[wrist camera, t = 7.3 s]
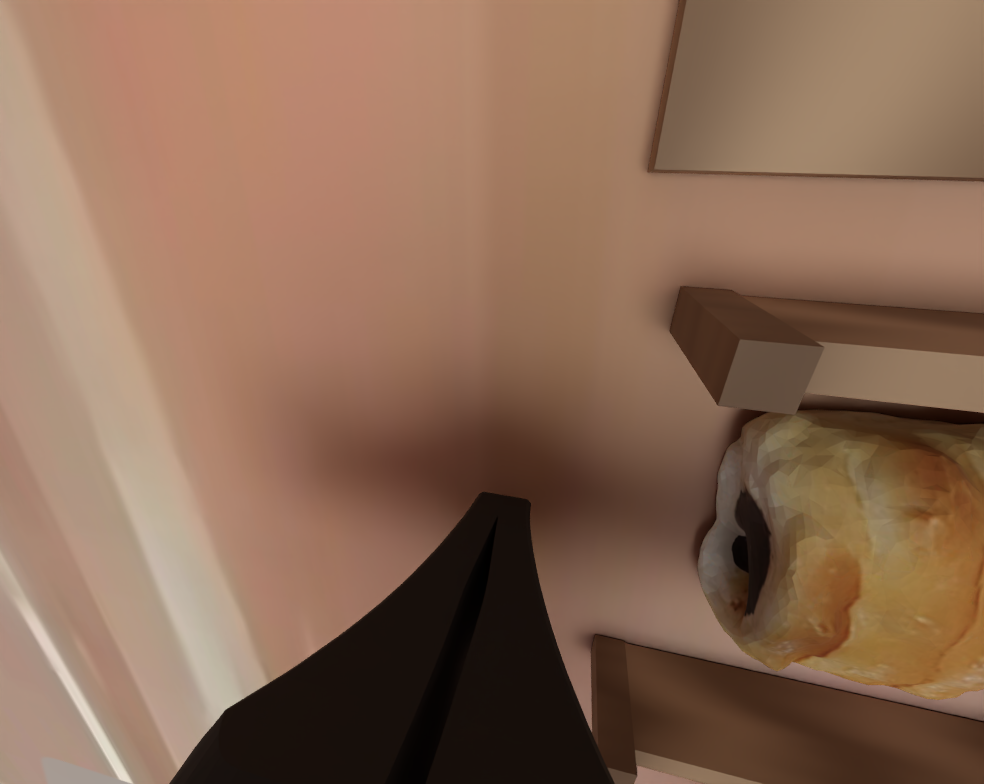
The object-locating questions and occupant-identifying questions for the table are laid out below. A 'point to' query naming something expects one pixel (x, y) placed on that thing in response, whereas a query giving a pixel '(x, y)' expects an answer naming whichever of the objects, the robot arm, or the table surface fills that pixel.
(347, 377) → the table surface
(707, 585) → the pastry
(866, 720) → the open wooden frame
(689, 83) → the crate lid
